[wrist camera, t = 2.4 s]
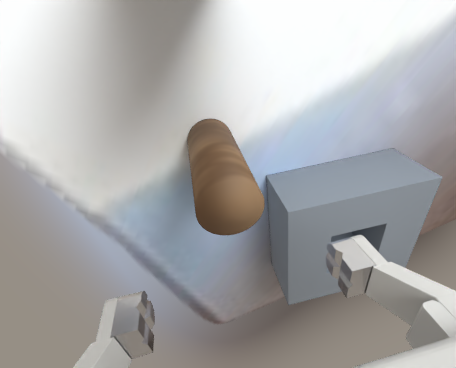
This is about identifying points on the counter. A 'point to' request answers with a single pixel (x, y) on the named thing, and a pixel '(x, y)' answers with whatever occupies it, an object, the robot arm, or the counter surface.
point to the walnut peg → (222, 180)
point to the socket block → (344, 215)
